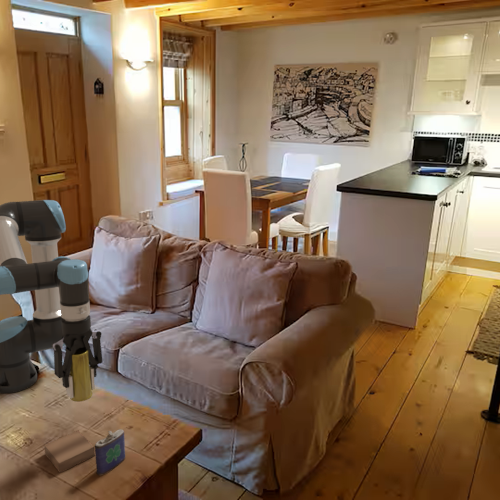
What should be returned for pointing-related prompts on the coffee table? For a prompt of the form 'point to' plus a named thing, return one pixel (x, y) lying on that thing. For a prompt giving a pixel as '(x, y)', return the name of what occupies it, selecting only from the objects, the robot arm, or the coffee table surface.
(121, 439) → the flask
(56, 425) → the coffee table surface
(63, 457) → the plinth
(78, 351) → the vase
